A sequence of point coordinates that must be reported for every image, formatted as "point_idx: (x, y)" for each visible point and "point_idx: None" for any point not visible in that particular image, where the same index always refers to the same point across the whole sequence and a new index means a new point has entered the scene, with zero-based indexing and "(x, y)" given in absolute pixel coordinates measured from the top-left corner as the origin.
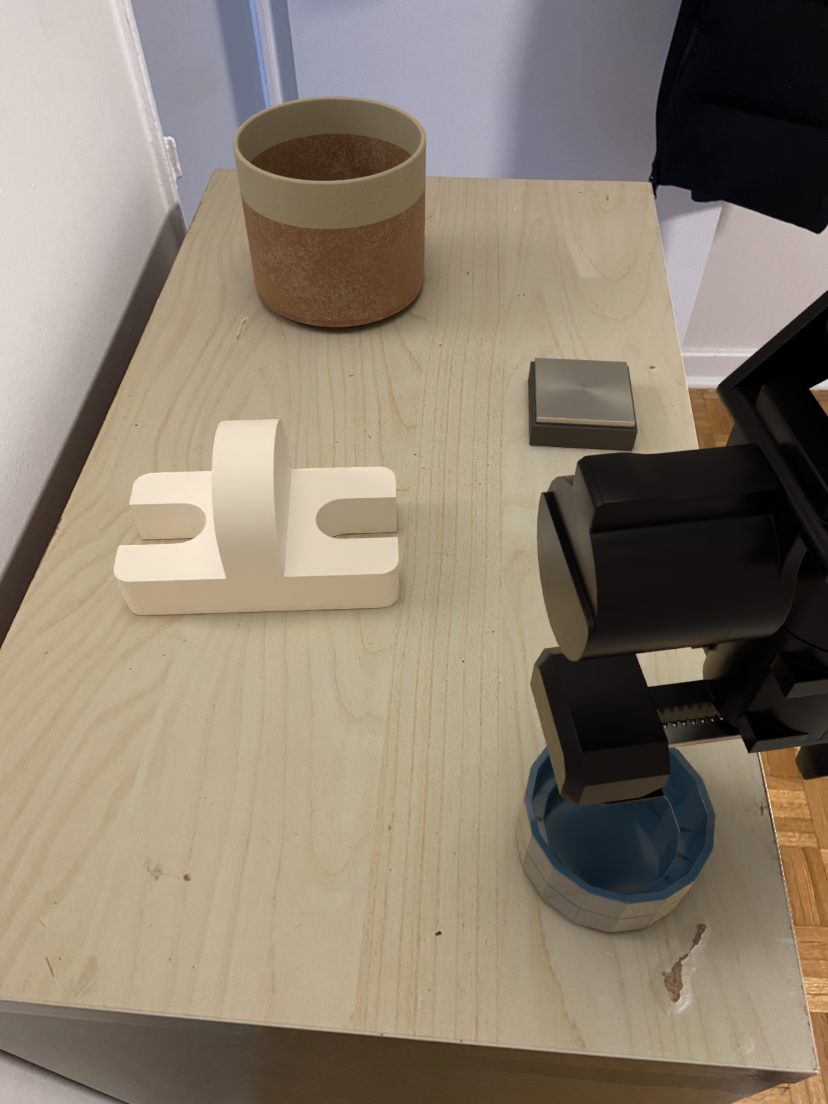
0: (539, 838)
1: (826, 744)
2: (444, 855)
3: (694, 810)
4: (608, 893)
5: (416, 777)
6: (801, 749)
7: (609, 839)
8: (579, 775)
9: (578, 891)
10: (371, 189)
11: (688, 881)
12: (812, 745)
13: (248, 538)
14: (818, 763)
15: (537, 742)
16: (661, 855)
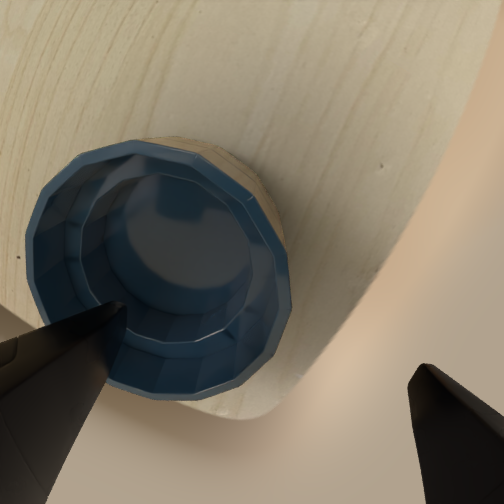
0: (32, 288)
1: (449, 444)
2: (29, 194)
3: (269, 309)
4: None
5: (28, 105)
6: (434, 384)
7: (182, 247)
8: None
9: None
10: None
11: (187, 399)
12: (444, 410)
13: None
14: (425, 425)
15: (161, 91)
16: (231, 287)
